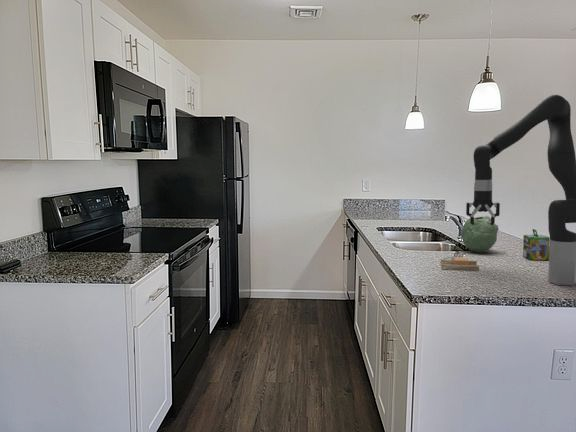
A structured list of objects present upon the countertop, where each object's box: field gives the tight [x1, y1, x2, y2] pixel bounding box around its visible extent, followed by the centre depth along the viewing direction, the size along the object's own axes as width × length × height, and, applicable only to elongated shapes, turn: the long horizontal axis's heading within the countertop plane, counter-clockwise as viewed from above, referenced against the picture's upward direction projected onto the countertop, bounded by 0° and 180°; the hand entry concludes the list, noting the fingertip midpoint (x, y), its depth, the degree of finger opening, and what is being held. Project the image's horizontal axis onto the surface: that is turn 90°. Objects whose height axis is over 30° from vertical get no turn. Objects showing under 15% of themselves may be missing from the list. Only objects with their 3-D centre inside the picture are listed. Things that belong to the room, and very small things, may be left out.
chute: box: [440, 258, 480, 272], centre depth 195 cm, size 12×16×2 cm
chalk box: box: [522, 228, 550, 261], centre depth 206 cm, size 9×9×15 cm
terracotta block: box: [453, 257, 470, 265], centre depth 195 cm, size 6×6×4 cm
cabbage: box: [460, 215, 499, 254], centre depth 224 cm, size 16×19×20 cm
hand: (482, 225), depth 190 cm, fingers open, 7 cm apart
